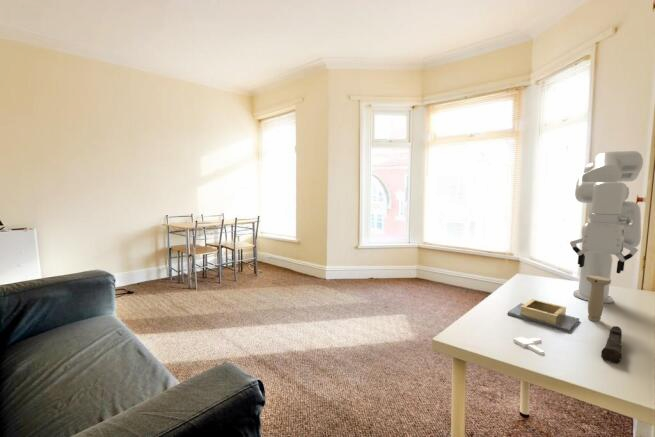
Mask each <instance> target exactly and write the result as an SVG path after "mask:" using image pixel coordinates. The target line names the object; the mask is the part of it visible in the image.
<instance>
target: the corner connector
mask: <svg viewBox="0 0 655 437" xmlns="http://www.w3.org/2000/svg"><path fill="white" fill-rule="evenodd" d="M512 342H514V343H515V344H517V345H519V346H521V347H522V348H526V349H527V348H528V349H529V350H531V351H532V352H534V353H535V354H538V355H545V351H544V350H543V349H541V348H540V347H538V346H536V345H537V344H541V343H542V339H541V338H540V337H534V338H533V337H532V338H526V337H525V336H519V337H514V338H513V340H512Z"/></svg>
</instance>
